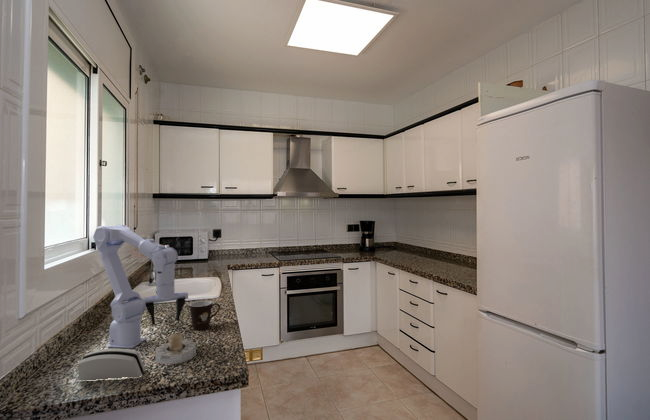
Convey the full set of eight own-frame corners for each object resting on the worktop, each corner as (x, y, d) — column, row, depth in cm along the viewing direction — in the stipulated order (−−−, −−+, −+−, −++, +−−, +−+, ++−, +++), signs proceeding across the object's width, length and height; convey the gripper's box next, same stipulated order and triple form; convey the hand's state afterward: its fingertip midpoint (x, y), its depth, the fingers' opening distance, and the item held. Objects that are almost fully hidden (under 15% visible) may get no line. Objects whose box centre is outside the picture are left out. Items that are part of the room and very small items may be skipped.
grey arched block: (148, 369, 99) (143, 343, 96) (141, 383, 95) (135, 355, 91) (89, 373, 97) (81, 346, 94) (79, 386, 93) (71, 359, 90)
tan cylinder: (166, 359, 106) (166, 337, 106) (173, 353, 110) (173, 333, 110) (178, 359, 106) (178, 338, 106) (185, 354, 110) (184, 333, 110)
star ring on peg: (147, 364, 103) (147, 354, 103) (169, 348, 115) (169, 339, 115) (183, 366, 102) (183, 356, 101) (202, 349, 113) (202, 340, 113)
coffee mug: (188, 332, 129) (188, 307, 129) (191, 325, 137) (191, 301, 137) (219, 329, 132) (219, 304, 132) (220, 322, 140) (220, 299, 140)
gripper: (142, 288, 107) (142, 329, 107) (189, 282, 115) (189, 321, 115) (141, 284, 113) (141, 323, 113) (186, 279, 121) (186, 315, 121)
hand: (165, 321), depth 114 cm, fingers open, 7 cm apart
